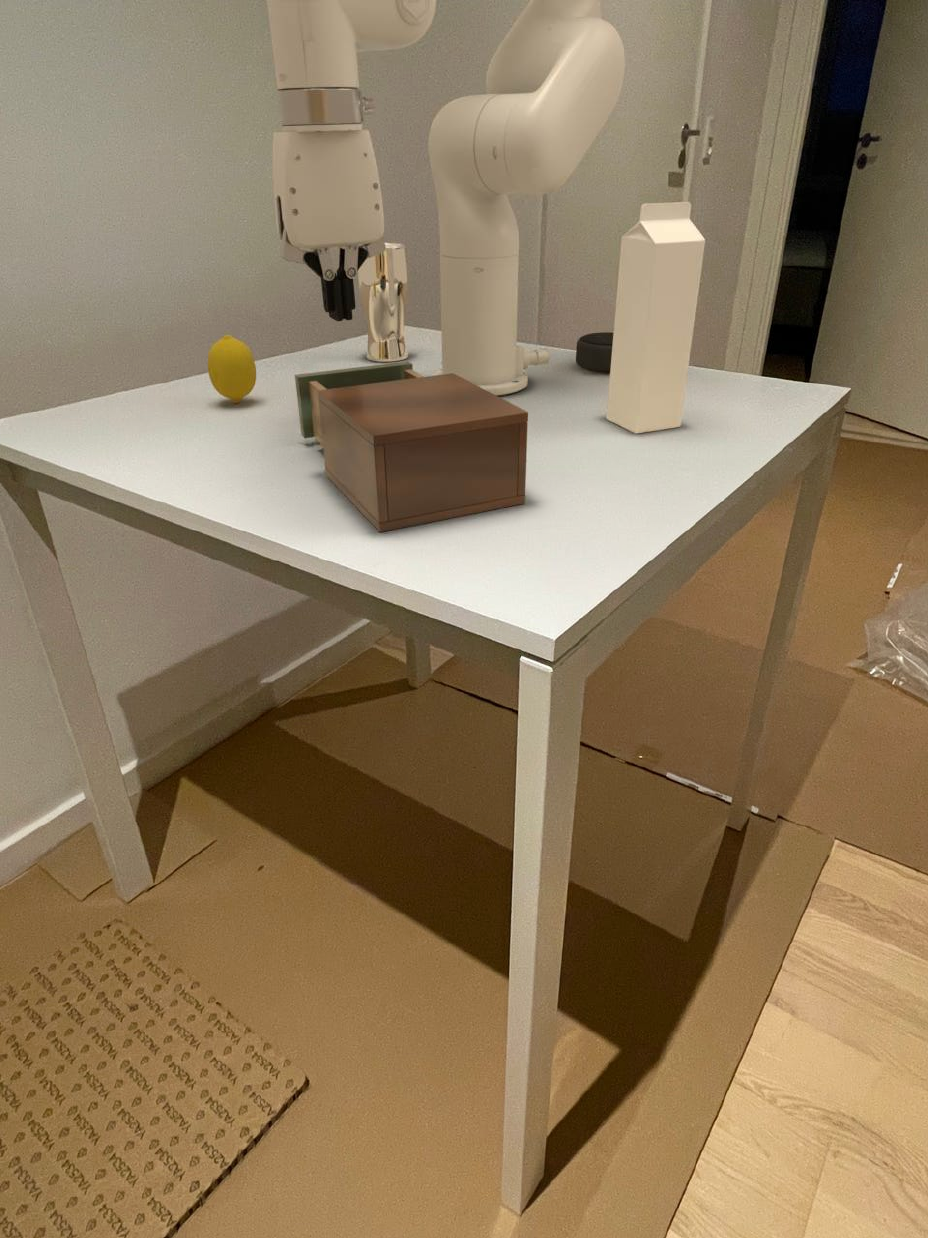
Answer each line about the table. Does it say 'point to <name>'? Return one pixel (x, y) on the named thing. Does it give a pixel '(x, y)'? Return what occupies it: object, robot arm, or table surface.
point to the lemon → (231, 368)
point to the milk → (654, 318)
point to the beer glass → (385, 302)
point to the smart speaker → (595, 352)
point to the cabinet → (423, 449)
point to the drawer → (336, 379)
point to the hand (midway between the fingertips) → (340, 317)
